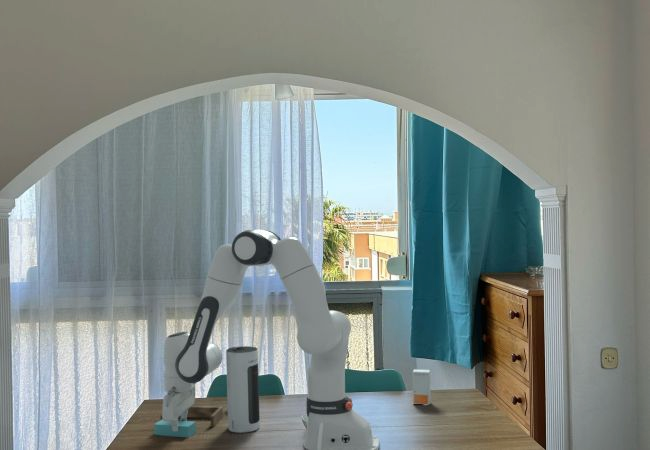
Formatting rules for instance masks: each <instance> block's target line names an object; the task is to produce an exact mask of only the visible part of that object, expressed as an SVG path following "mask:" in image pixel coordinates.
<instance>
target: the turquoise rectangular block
mask: <svg viewBox="0 0 650 450" xmlns="http://www.w3.org/2000/svg"><path fill="white" fill-rule="evenodd" d="M178 424H179V430H178V431H172V424H171V422H167V421H163V420H161V419H160V420H159V421H157V422H155V423H154V424H153V435H154V436H165V437H180V438H190V437H191V436H193V435H194V434H196V433H197V422H196V421H192V420H191V421H190V420H189V421H188V420H187V421H180V420H178Z"/></svg>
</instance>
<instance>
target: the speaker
mask: <svg viewBox="0 0 650 450" xmlns="http://www.w3.org/2000/svg"><path fill="white" fill-rule="evenodd" d="M225 357H226V361H225V363H226V364H225V365H226V397H227V398H226V400H227V401H226V402H227V403H226V404H227V407H226V408H227V429H228V431H229V432H231V433H237V434H245V433H251V432H255V431H258V430H259V429H260V426H261V424H260V423H261V422H260V421H261V420H260V388H259V384H260V383H259V380H260V379H259V349H258V347H255V346H247V345H242V346H232V347H229V348H226V350H225Z"/></svg>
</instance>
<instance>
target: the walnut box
mask: <svg viewBox="0 0 650 450" xmlns="http://www.w3.org/2000/svg"><path fill="white" fill-rule="evenodd" d="M178 418H181V416H179V417H178ZM187 418H203V419H204V418H210V427H211V428H214V427H216V426H217V425H218V423H219V422H220V421H221V420H222V419H223V418H224V406H208V405H207V406H206V405H205V406H198V405H197V406H196V405H195V406H194V405H192V406H191V407H190V408H189V409H188V414H187ZM160 420H163V418H162V414H160Z"/></svg>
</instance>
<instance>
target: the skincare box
mask: <svg viewBox="0 0 650 450" xmlns="http://www.w3.org/2000/svg"><path fill="white" fill-rule="evenodd" d="M431 391H432V390H431V370H430V369H416V368H414V369H413V371H412V404H413V403H415V404H416V403H417V404H430V405H431V403H430V402H432V400H431V399H432V397H431V394H432V393H431Z"/></svg>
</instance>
